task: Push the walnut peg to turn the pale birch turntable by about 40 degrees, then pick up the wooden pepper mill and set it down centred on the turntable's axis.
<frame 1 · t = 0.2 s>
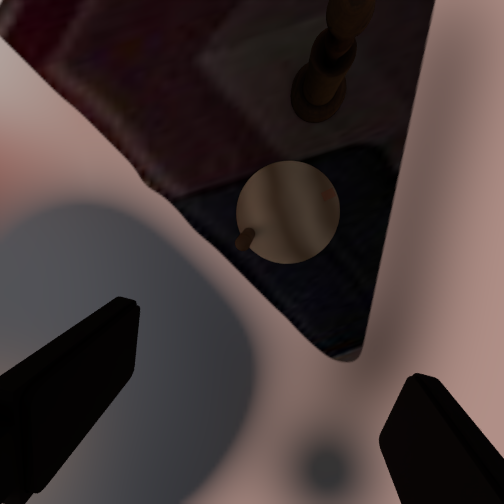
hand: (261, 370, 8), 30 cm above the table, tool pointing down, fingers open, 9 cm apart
wooden pepper mill: (316, 96, 32), on the table
turntable: (287, 217, 31), point 5 cm above the table, hinge at 0.0°
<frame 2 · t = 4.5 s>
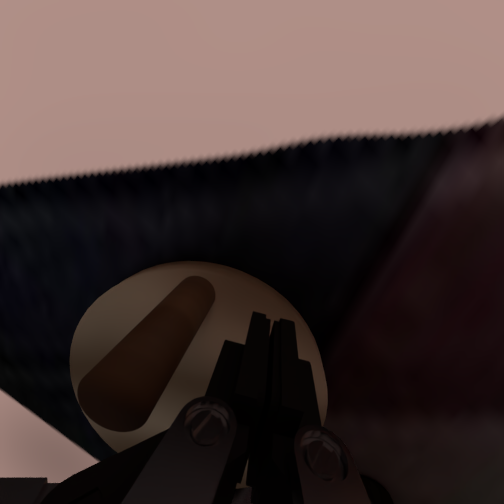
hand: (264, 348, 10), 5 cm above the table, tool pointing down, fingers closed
wooden pepper mill: (344, 500, 19), on the table
turntable: (175, 435, 11), point 5 cm above the table, hinge at 5.7°, touching gripper
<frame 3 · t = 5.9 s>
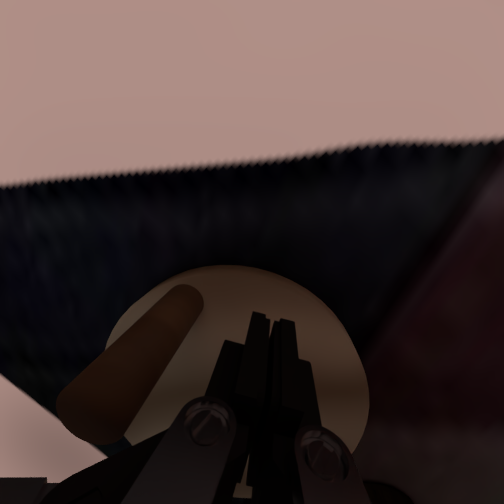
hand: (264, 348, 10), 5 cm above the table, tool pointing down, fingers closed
turntable: (217, 444, 11), point 5 cm above the table, hinge at 31.8°
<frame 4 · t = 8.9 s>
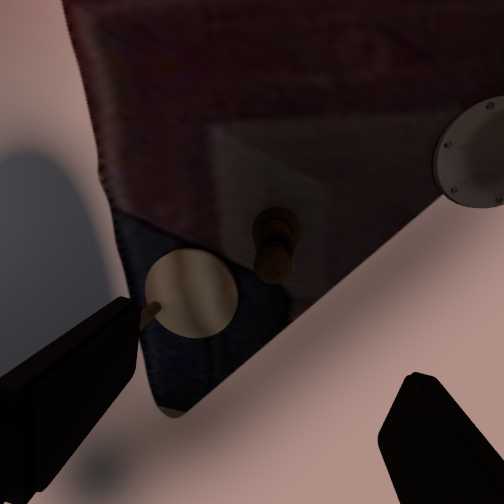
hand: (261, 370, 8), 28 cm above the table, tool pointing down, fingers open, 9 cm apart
wooden pepper mill: (276, 229, 36), on the table
turntable: (184, 303, 34), point 5 cm above the table, hinge at 31.9°
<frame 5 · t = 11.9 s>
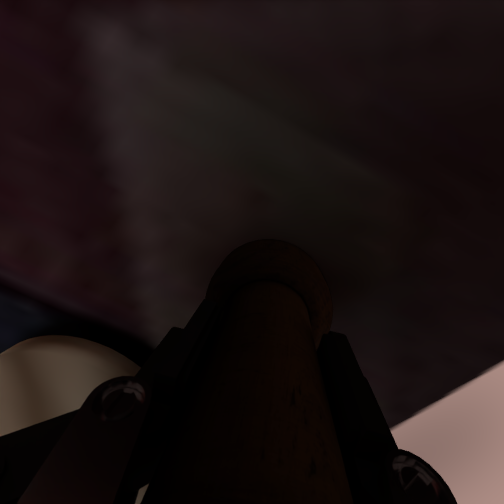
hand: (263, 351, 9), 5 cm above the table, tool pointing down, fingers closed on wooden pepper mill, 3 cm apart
wooden pepper mill: (269, 292, 15), on the table, touching gripper
turntable: (28, 492, 13), point 5 cm above the table, hinge at 31.9°
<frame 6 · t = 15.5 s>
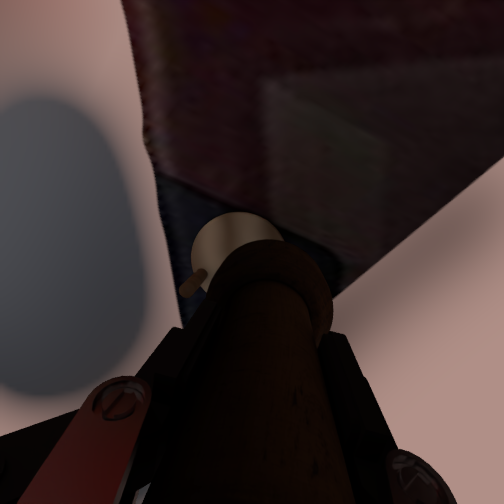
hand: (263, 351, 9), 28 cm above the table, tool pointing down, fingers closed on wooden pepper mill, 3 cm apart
wooden pepper mill: (269, 291, 15), point 22 cm above the table, touching gripper
turntable: (235, 267, 33), point 5 cm above the table, hinge at 31.9°
when the fingers open (10 cm above the table, at t = 19.6 s): wooden pepper mill drops 1 cm, resting on turntable.
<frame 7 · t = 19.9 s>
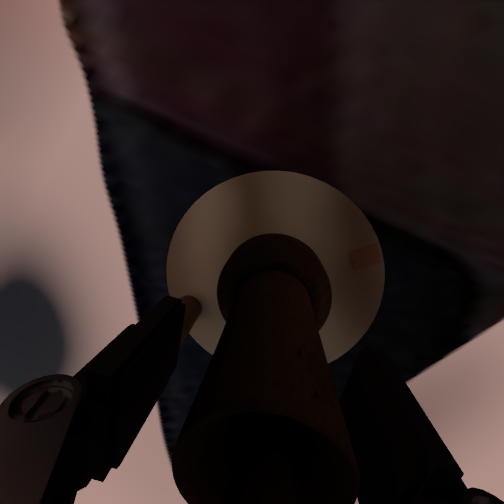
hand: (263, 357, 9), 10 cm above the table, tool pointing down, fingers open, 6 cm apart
wooden pepper mill: (274, 281, 16), point 3 cm above the table, touching turntable
turntable: (268, 299, 14), point 5 cm above the table, hinge at 31.9°, touching wooden pepper mill
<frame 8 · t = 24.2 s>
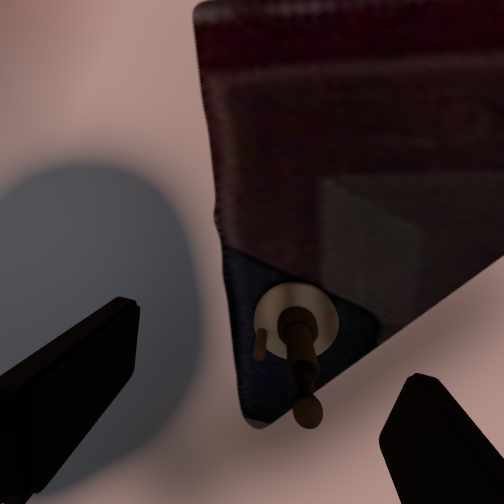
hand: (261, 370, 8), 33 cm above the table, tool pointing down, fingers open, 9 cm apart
wooden pepper mill: (296, 323, 41), point 3 cm above the table, touching turntable
turntable: (296, 331, 39), point 5 cm above the table, hinge at 31.9°, touching wooden pepper mill
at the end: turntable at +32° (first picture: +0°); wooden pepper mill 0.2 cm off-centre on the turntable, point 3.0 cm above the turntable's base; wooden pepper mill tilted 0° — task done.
